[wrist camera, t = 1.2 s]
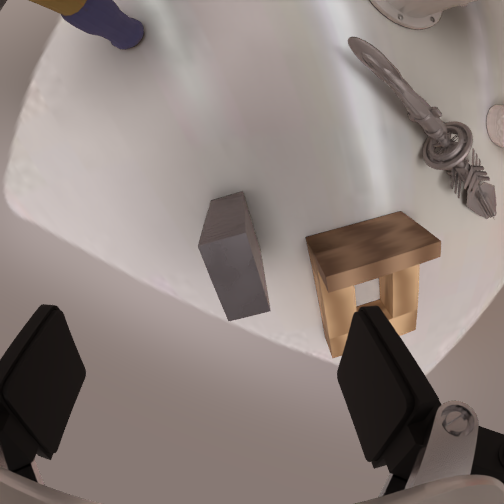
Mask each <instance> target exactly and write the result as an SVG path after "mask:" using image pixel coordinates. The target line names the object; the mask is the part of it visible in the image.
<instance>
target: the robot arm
mask: <svg viewBox="0 0 504 504" xmlns="http://www.w3.org/2000/svg"><path fill="white" fill-rule="evenodd" d="M370 1H371V2H372V4H373V5H374V6H375V7H376V8H377V9H378V10H379V11H380V12H381V13H382V14H384V15H385V16H386V17H387V18H389V19H391V20H392V21H394V22H395V23H397V24H399V25H402V26H404V27H407V28H411V29H425V28H429V27H431V26H433V25H435V24H436V23H437V22H438V21H439V19H440V18H441V15H442V11H443V10H446V9H449V8H452V7H455V6H464V7H465V6H467V4H468V3H469V2H473V1H476V0H370ZM85 376H86V370H85V367H84V365H83V362H82V360H81V358H80V355H79V353H78V350H77V348H76V346H75V343H74V341H73V338H72V336H71V333H70V330H69V328H68V325H67V322H66V320H65V316H64V314H63V312H62V311H61V310H60V309H59V308H58V307H57V306H55V305H44V304H43V305H41V306H40V307H39V308H38V309H37V310H36V312H35V313H34V314H33V315H32V317H31V318H30V319H29V321H28V322H27V323H26V325H25V326H24V327H23V329H22V330H21V331H20V333H19V334H18V335H17V337H16V338H15V339H14V341H13V342H12V344H11V345H10V347H9V348H8V349H7V351H6V352H5V354H4V355H3V357H2V358H1V360H0V504H102V503H98V502H94V501H90V500H86V499H83V498H80V497H76V496H73V495H70V494H67V493H64V492H61V491H58V490H55V489H53V488H50V487H47V486H45V484H44V482H43V479H42V477H41V474H40V472H39V469H38V467H37V464H36V461H35V455H36V454H38V456H41V457H44V458H46V459H49V460H51V458H52V455H53V453H56V452H57V450H58V447H59V444H60V441H61V438H62V435H63V433H64V430H65V427H66V425H67V422H68V419H69V417H70V414H71V411H72V409H73V406H74V404H75V401H76V399H77V396H78V394H79V391H80V389H81V387H82V384H83V382H84V379H85ZM337 378H338V382H339V384H340V387H341V390H342V393H343V396H344V398H345V401H346V404H347V407H348V410H349V412H350V415H351V418H352V420H353V424H354V426H355V429H356V432H357V435H358V438H359V441H360V444H361V446H362V450H363V452H364V455H365V458H366V460H367V461H368V462H372V465H373V467H374V468H378V467H381V466H385V465H387V467H388V470H389V472H390V474H389V476H388V478H387V480H386V482H385V485H384V487H383V489H382V491H381V493H380V495H379V497H378V498H375V499H371V500H368V501H364V502H360V503H355V504H504V434H500V433H498V432H495V431H492V430H489V429H486V428H483V427H480V426H479V424H478V418H477V415H476V413H475V411H474V410H473V409H472V408H471V407H470V406H469V405H467V404H466V403H463V402H461V401H448V402H445V403H443V404H442V405H441V403H440V401H439V398H438V396H437V395H436V393H435V391H434V390H433V388H432V386H431V385H430V383H429V382H428V380H427V378H426V377H425V375H424V373H423V372H422V370H421V369H420V367H419V366H418V364H417V362H416V361H415V359H414V358H413V356H412V355H411V353H410V352H409V350H408V348H407V347H406V345H405V344H404V342H403V341H402V339H401V338H400V336H399V335H398V333H397V332H396V330H395V329H394V327H393V326H392V324H391V323H390V322H389V320H388V319H387V317H386V316H385V314H384V313H383V311H382V310H381V309H380V307H379V306H364V307H360V308H359V310H358V312H354V314H353V317H352V321H351V325H350V329H349V333H348V336H347V340H346V344H345V347H344V351H343V354H342V358H341V361H340V364H339V368H338V371H337Z"/></svg>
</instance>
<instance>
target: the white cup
mask: <svg viewBox="0 0 504 504" xmlns="http://www.w3.org/2000/svg"><path fill="white" fill-rule="evenodd" d="M486 125H487V130H488V134H489V136H490V138H491V140H492V142H494V143H495V144H496V145H498V146H501V147H503V148H504V106H502V105H494V106H493V107H491V108H490V109H489V112H488V114H487V123H486Z"/></svg>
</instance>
